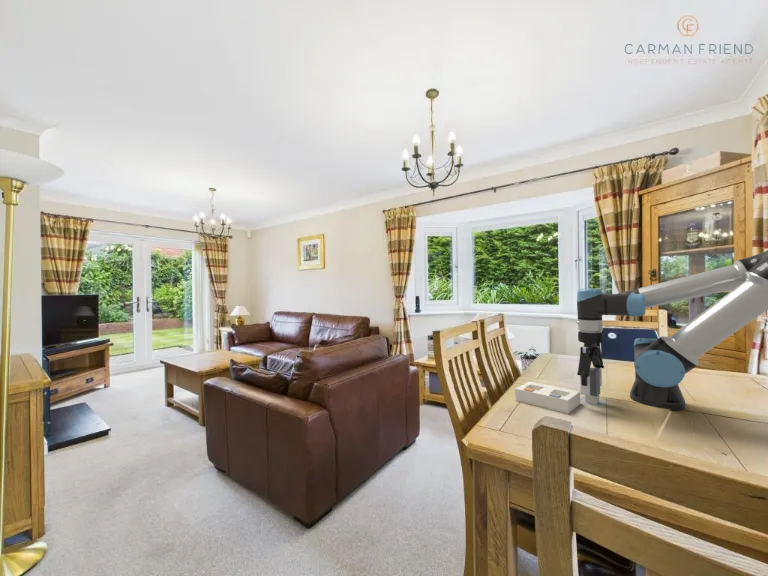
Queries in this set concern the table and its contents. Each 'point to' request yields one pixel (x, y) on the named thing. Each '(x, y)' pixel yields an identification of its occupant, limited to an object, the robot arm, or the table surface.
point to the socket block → (548, 396)
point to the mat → (600, 405)
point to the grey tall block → (594, 386)
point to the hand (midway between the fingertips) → (591, 389)
